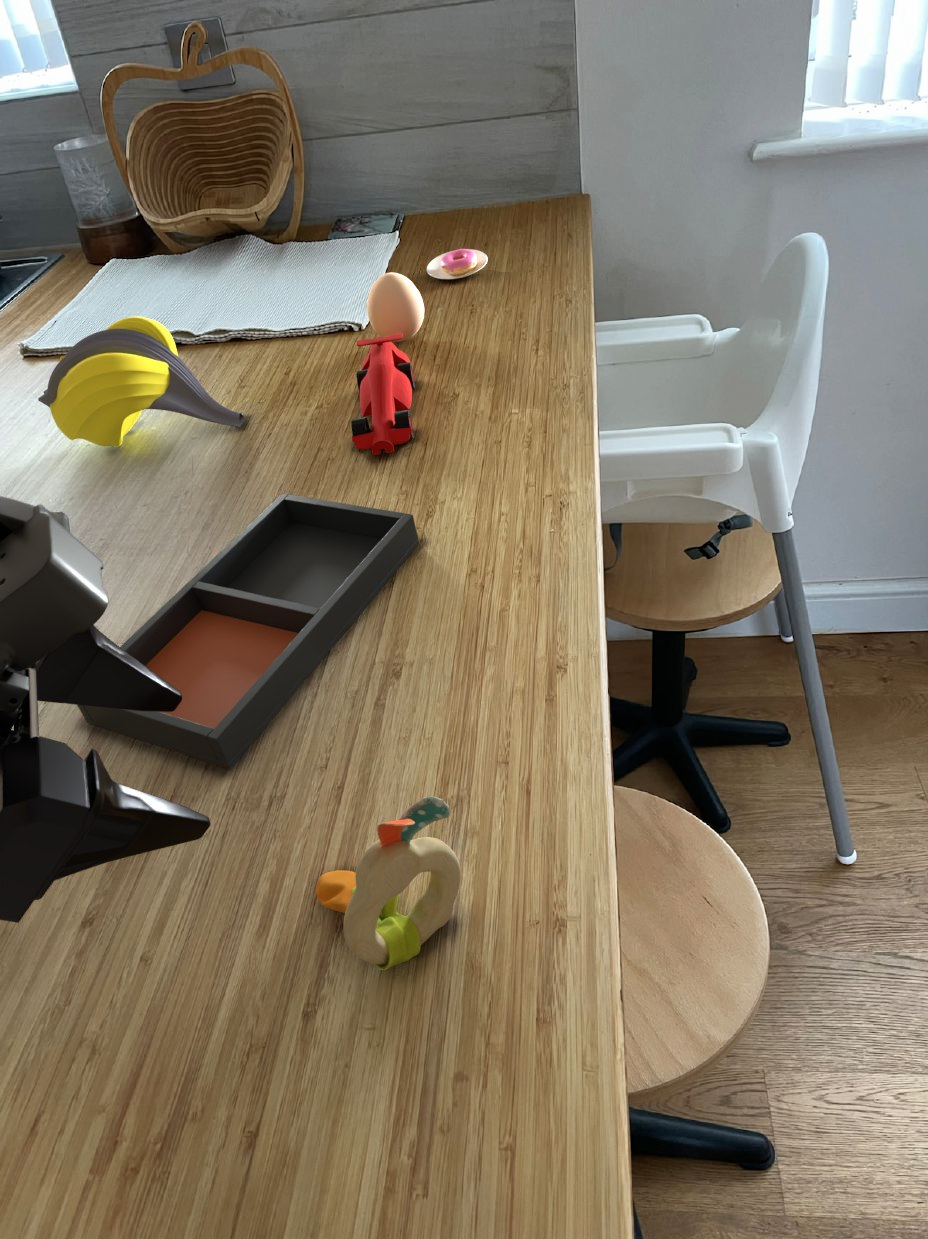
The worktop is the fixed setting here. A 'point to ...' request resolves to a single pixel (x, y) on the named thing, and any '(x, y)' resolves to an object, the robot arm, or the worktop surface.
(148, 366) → the yellow grey curved horn
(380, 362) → the toy car
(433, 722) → the worktop surface
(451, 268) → the donut
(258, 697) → the tray
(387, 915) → the rattle
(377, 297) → the egg
